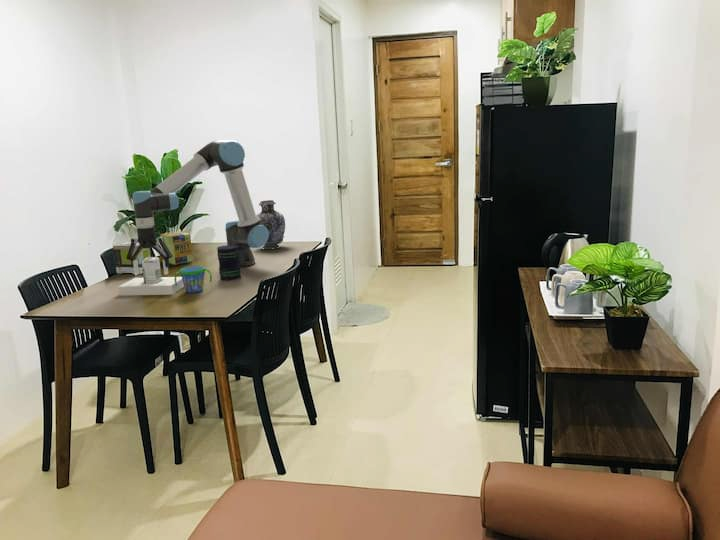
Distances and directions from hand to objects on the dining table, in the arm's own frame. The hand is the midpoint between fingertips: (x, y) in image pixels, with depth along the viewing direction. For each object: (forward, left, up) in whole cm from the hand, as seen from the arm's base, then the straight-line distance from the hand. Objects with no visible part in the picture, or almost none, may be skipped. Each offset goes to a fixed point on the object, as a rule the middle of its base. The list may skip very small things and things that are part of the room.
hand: (151, 274), depth 264 cm
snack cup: (-20, +3, -7) cm, 22 cm away
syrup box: (0, 0, -7) cm, 7 cm away
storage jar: (-29, -20, -7) cm, 36 cm away
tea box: (+27, -38, -8) cm, 47 cm away
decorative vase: (-31, -93, -7) cm, 98 cm away
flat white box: (0, 0, -7) cm, 7 cm away
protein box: (+13, -61, -8) cm, 63 cm away
